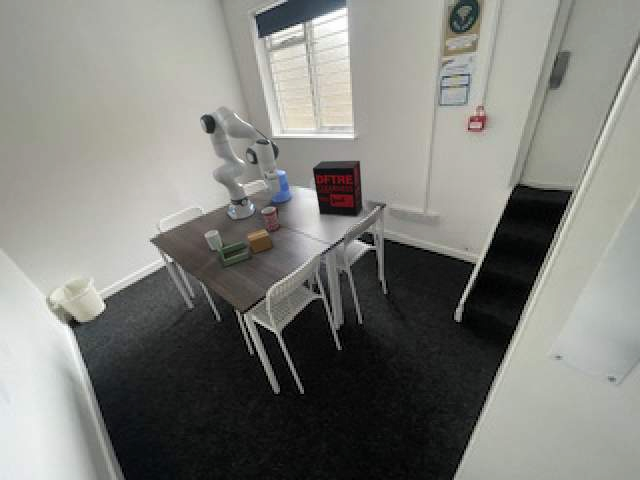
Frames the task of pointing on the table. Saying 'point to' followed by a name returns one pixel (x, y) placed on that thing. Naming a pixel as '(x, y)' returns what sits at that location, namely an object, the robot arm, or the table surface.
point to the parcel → (259, 240)
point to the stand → (230, 249)
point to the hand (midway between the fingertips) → (274, 195)
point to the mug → (271, 218)
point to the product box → (338, 187)
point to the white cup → (213, 239)
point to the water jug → (282, 189)
